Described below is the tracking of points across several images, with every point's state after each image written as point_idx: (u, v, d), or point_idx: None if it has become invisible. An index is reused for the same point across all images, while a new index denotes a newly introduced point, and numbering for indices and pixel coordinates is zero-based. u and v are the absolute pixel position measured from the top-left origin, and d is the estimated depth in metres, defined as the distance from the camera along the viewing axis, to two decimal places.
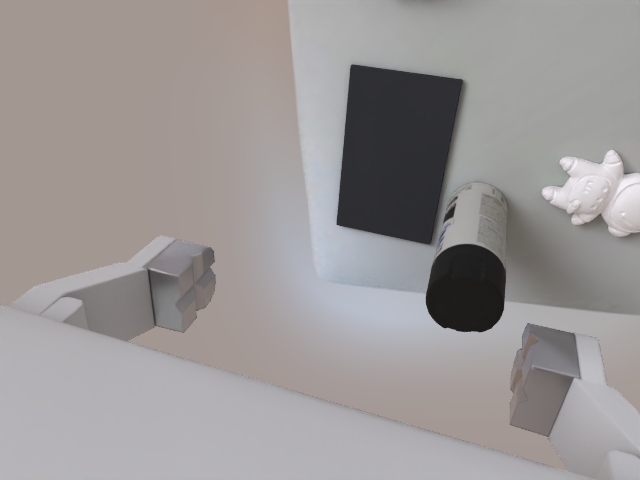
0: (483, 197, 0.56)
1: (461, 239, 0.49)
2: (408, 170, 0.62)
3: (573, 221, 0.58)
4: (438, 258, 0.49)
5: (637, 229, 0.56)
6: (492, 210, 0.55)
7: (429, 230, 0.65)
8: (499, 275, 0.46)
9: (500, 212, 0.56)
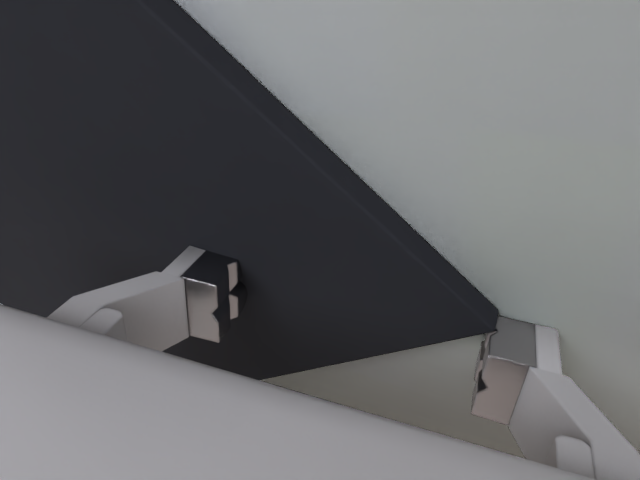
0: None
1: None
2: None
3: None
4: None
5: None
6: None
7: None
8: None
9: None
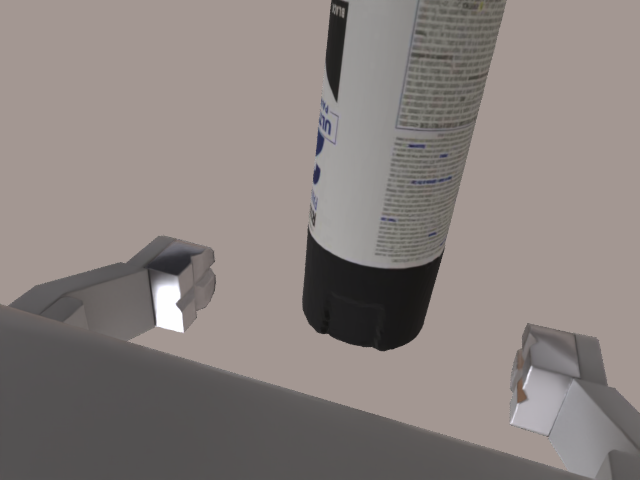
0: (422, 10, 0.18)
1: (345, 242, 0.23)
2: None
3: None
4: (311, 250, 0.25)
5: None
6: (440, 76, 0.19)
7: None
8: (414, 309, 0.25)
9: (472, 45, 0.19)
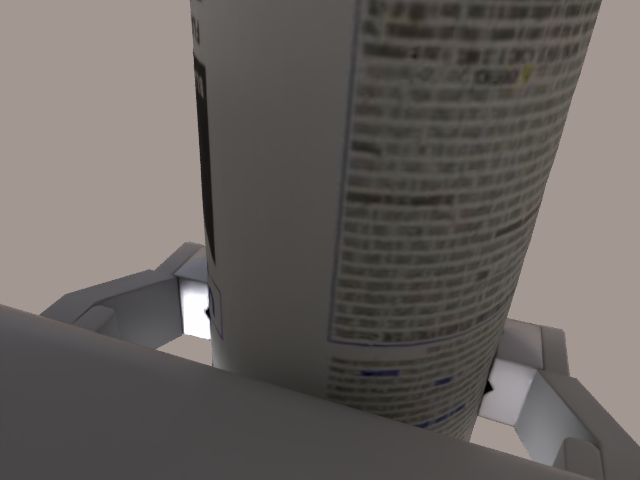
0: (363, 94, 0.07)
1: None
2: None
3: None
4: None
5: None
6: (424, 241, 0.08)
7: None
8: None
9: (502, 165, 0.08)
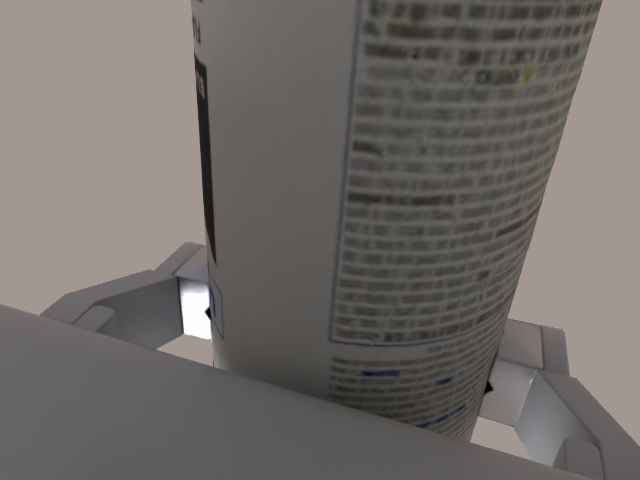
0: (365, 94, 0.07)
1: None
2: None
3: None
4: None
5: None
6: (425, 241, 0.08)
7: None
8: None
9: (503, 165, 0.08)
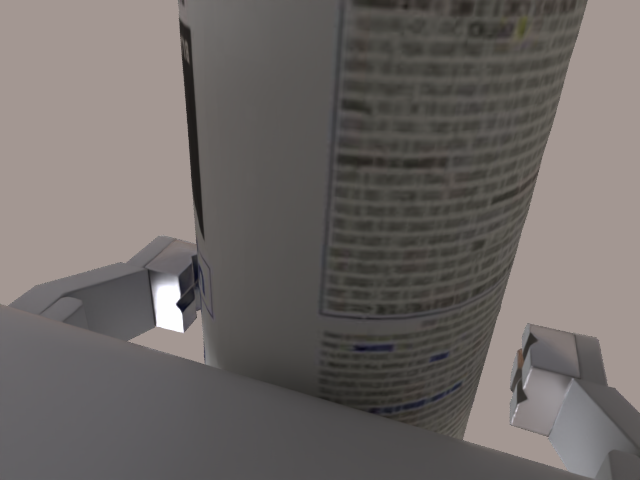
0: (353, 48, 0.06)
1: None
2: None
3: None
4: None
5: None
6: (418, 206, 0.08)
7: None
8: None
9: (498, 127, 0.07)
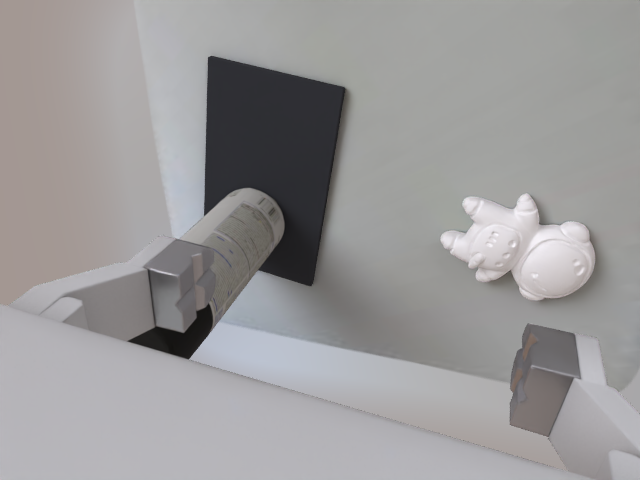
0: (238, 208, 0.46)
1: None
2: (283, 195, 0.49)
3: (477, 277, 0.46)
4: None
5: (552, 295, 0.44)
6: (239, 225, 0.44)
7: (310, 270, 0.52)
8: None
9: (254, 228, 0.45)
